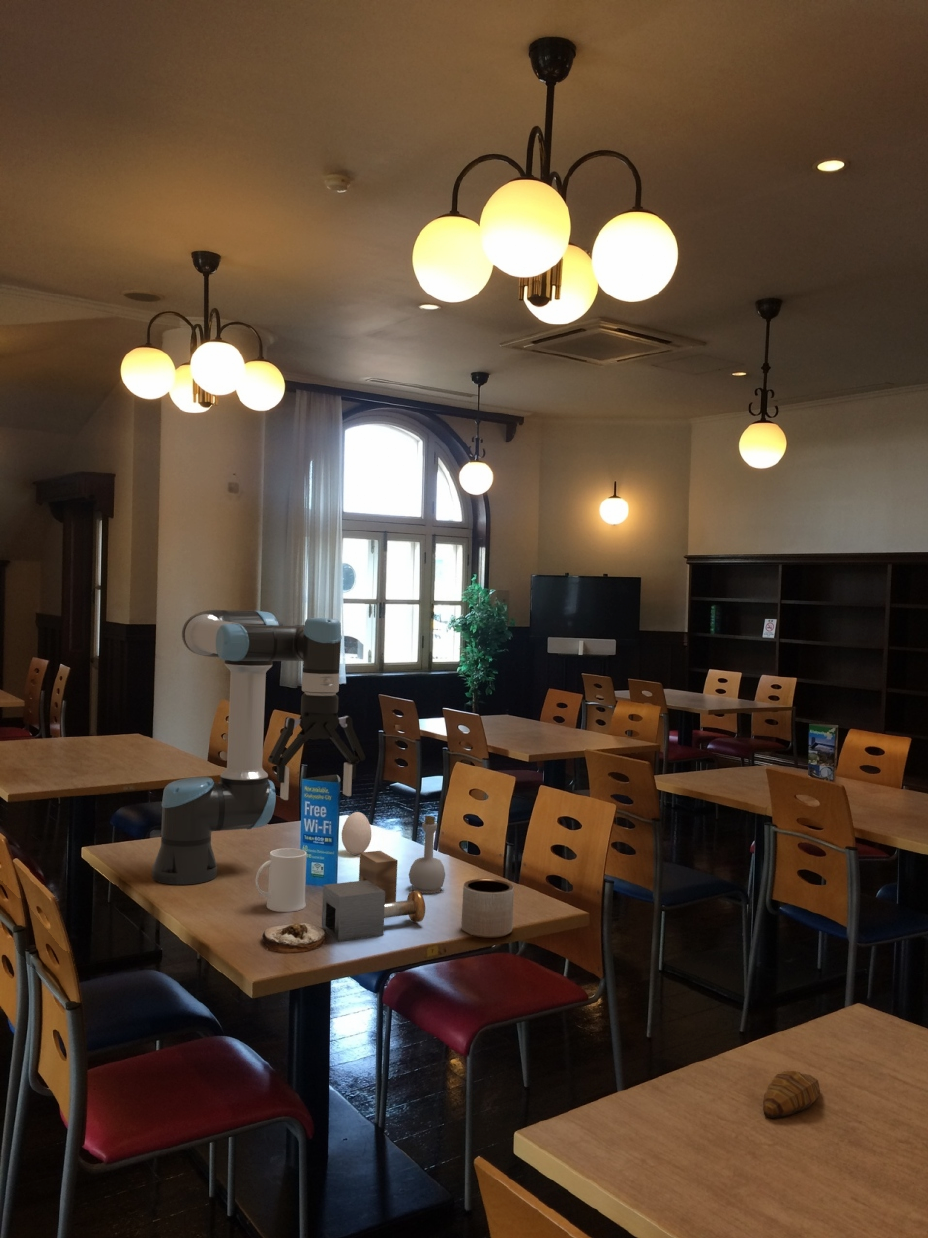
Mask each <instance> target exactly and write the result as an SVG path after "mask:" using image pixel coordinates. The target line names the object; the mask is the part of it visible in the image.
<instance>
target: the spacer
mask: <svg viewBox="0 0 928 1238" xmlns="http://www.w3.org/2000/svg"><path fill="white" fill-rule="evenodd" d="M358 867H359V869H358V870H359V872H358V881H364V880H368V881H370V882H371V883H373V884H374V885H376V886H377V887H379V888H380V889H382V890H384V891H385V903H390V902H397V885H398V883H397V882H398V881H397V879H398V860H397V859H396V858H394V857H392V856H391V855H389V854H387V853H385V852H384V851H382V850H373V851H364V852H361V853H360V854H359V866H358Z"/></svg>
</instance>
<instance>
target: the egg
mask: <svg viewBox="0 0 928 1238" xmlns="http://www.w3.org/2000/svg"><path fill="white" fill-rule="evenodd" d="M371 840H372V828H371V824H370V822H369V820H368V817H366V815H365V814H364V813H362V812H360V811H355V812H353V813H351V814H349V816H348V817H347V818H346V820H345V822H344V824H343V825H342V829H341V842H342V845H343V847H344V848H345V850H346V851H347V852H348V853H350V854H352V855H354V856H356V855H357V856H358V855H360V853H361V852H366V850H367V849H368V848H369V847H370V843H371Z"/></svg>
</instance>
